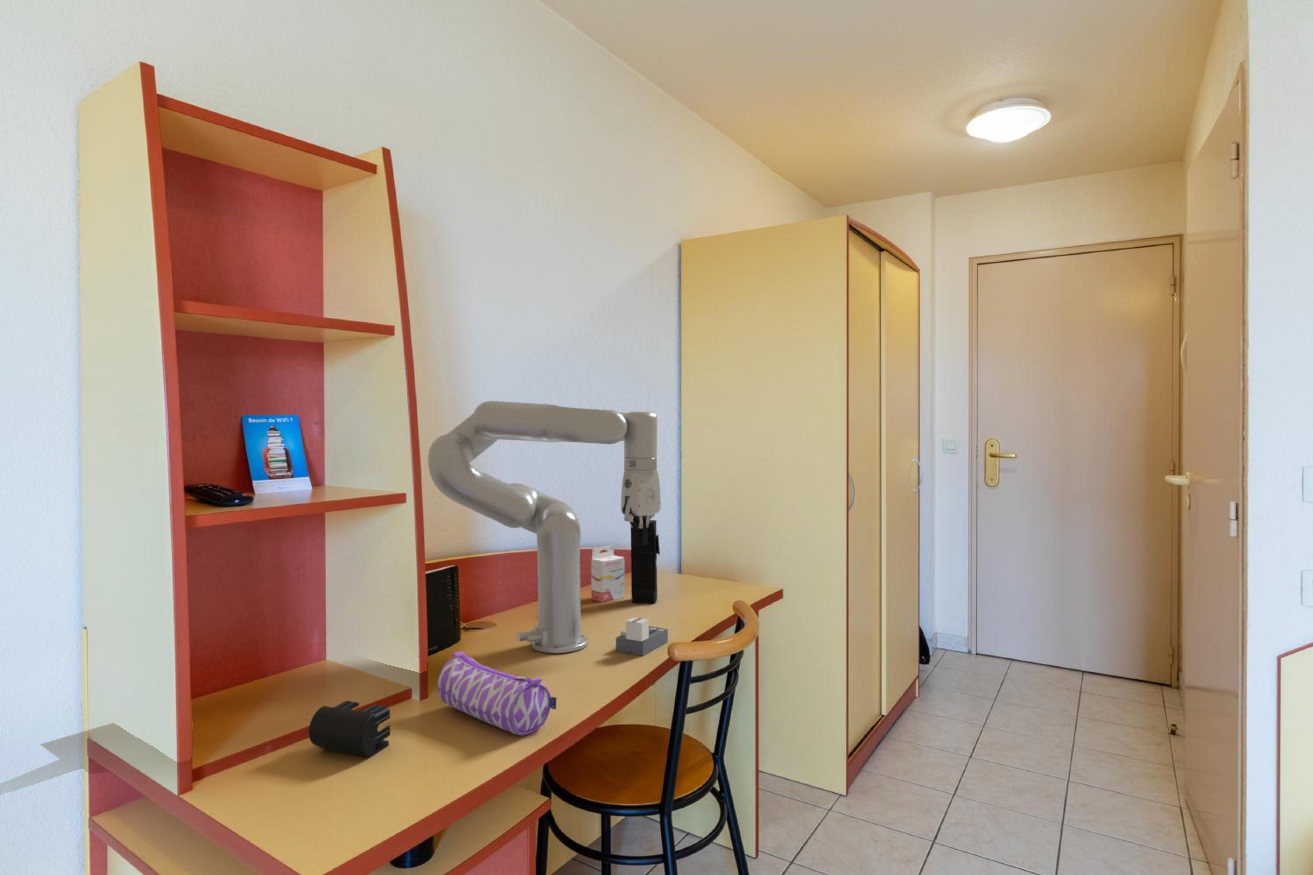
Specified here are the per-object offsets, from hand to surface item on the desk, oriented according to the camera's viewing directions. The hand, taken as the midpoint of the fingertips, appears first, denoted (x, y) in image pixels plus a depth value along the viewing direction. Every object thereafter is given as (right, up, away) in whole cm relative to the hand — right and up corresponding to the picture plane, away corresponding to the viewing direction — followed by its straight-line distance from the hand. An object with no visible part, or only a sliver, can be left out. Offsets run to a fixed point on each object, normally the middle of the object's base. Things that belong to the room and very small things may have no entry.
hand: (639, 544), depth 167 cm
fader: (0, -19, -9) cm, 21 cm away
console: (+1, -22, -4) cm, 23 cm away
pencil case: (-24, -24, -42) cm, 54 cm away
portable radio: (+1, -21, +36) cm, 42 cm away
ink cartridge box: (-10, -22, +39) cm, 46 cm away
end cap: (-44, -25, -54) cm, 74 cm away
